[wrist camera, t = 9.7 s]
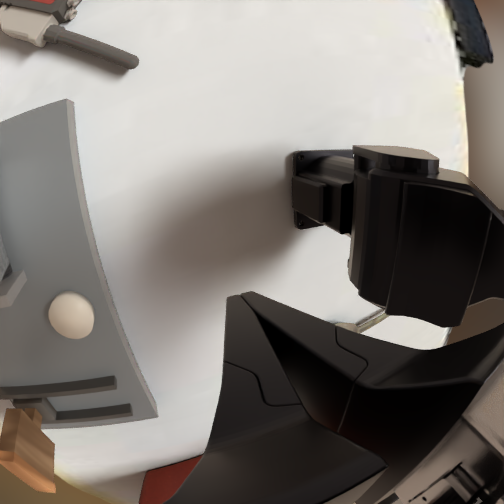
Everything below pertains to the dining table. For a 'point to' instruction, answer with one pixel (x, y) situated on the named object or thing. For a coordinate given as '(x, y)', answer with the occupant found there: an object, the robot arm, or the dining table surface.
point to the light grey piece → (4, 262)
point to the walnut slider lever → (29, 443)
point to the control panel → (59, 284)
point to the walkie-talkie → (55, 28)
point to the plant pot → (165, 481)
